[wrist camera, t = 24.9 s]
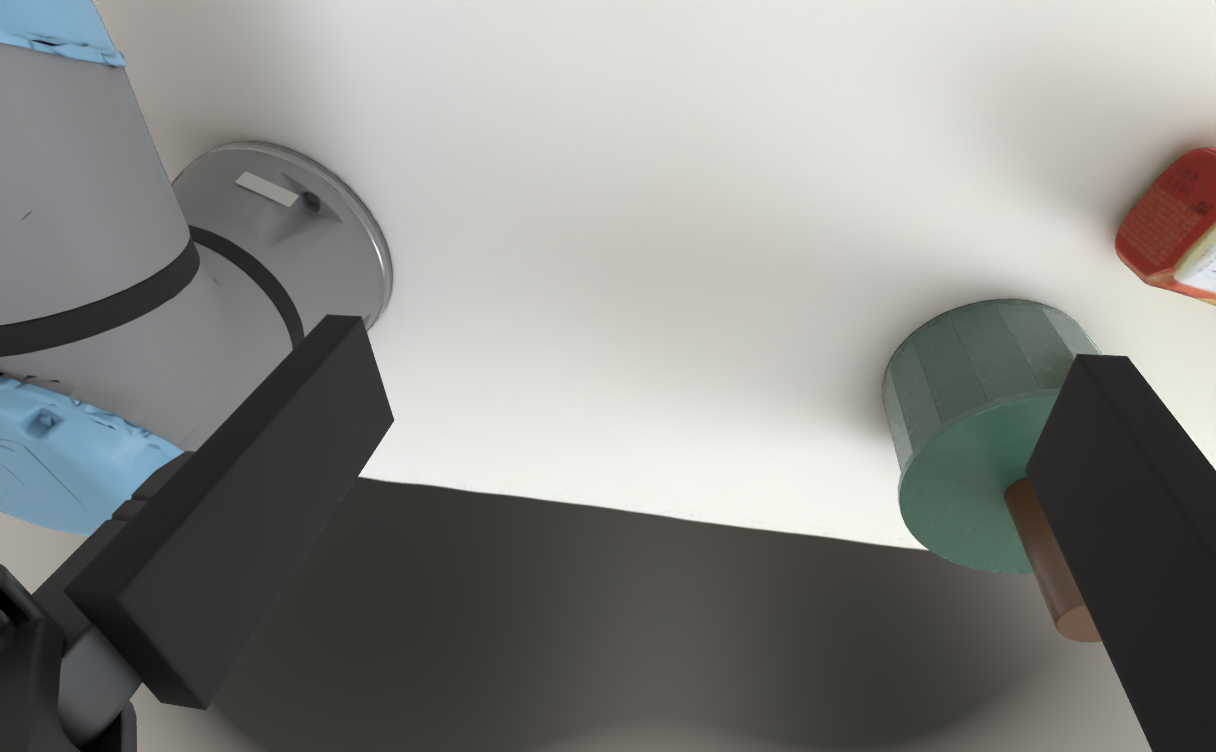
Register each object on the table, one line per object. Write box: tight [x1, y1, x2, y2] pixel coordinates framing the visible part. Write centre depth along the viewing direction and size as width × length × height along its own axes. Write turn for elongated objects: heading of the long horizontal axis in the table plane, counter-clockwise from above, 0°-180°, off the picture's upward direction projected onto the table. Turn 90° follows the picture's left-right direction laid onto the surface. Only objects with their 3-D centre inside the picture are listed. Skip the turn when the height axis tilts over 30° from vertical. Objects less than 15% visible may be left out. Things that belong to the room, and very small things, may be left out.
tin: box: [882, 300, 1102, 473], centre depth 41 cm, size 13×13×10 cm
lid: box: [898, 388, 1102, 642], centre depth 34 cm, size 14×14×9 cm
